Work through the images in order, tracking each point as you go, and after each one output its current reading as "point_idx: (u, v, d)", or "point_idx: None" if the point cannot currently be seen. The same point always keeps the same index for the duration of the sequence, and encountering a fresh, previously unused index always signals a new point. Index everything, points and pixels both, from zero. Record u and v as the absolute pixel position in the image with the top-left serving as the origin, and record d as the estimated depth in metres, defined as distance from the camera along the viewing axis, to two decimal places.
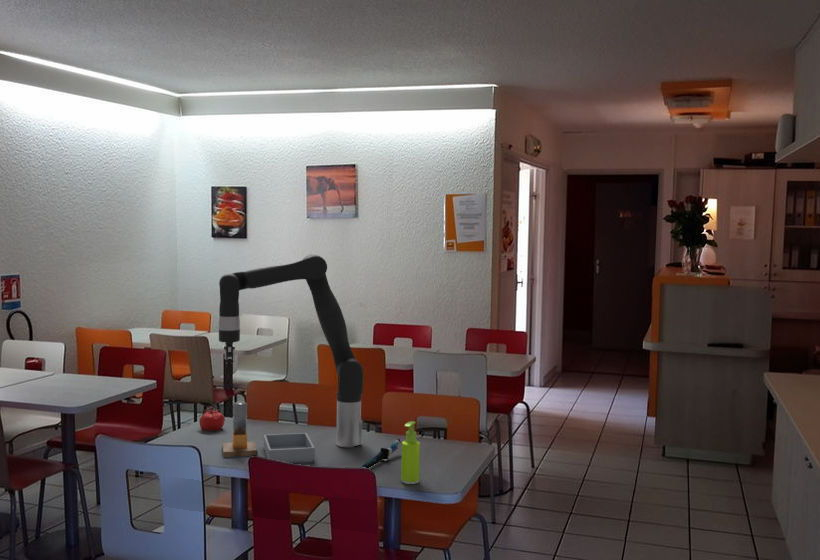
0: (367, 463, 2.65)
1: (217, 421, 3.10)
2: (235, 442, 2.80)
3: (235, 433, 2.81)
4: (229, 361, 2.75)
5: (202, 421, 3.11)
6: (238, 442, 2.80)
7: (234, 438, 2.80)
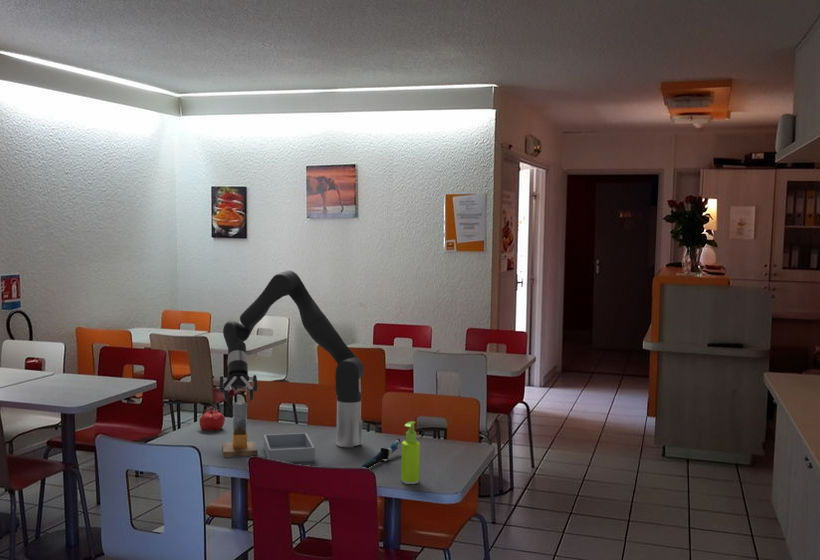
0: (367, 463, 2.65)
1: (217, 421, 3.10)
2: (235, 442, 2.80)
3: (235, 433, 2.81)
4: None
5: (202, 421, 3.11)
6: (238, 442, 2.80)
7: (234, 438, 2.80)
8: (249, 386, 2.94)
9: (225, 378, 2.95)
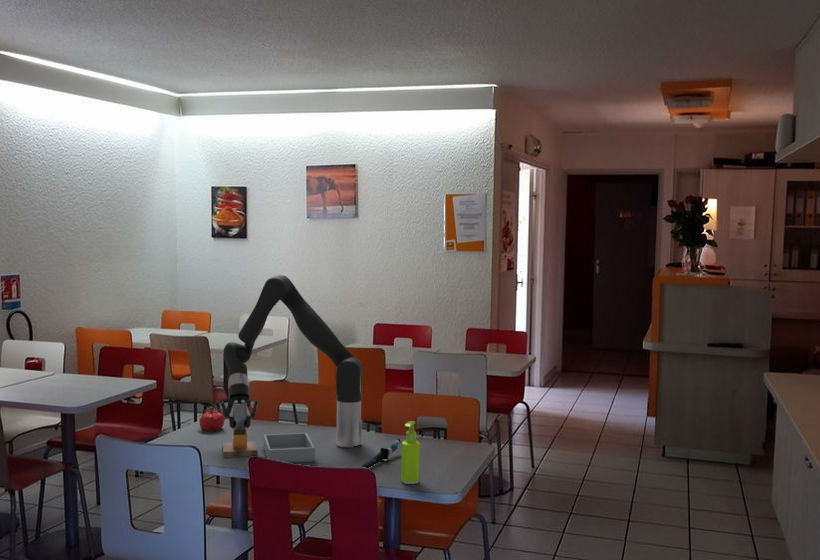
0: (367, 463, 2.65)
1: (217, 421, 3.10)
2: (235, 442, 2.80)
3: (235, 433, 2.81)
4: None
5: (202, 421, 3.11)
6: (238, 442, 2.80)
7: (234, 438, 2.80)
8: None
9: (226, 403, 2.86)
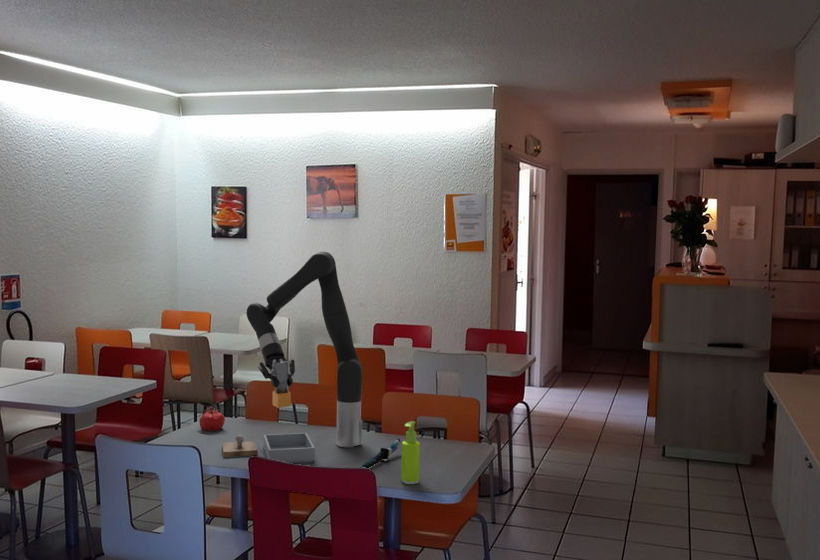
0: (367, 463, 2.65)
1: (217, 421, 3.10)
2: (279, 400, 2.77)
3: (279, 392, 2.78)
4: (265, 375, 2.78)
5: (202, 421, 3.11)
6: (282, 401, 2.78)
7: (279, 397, 2.77)
8: None
9: (264, 363, 2.81)
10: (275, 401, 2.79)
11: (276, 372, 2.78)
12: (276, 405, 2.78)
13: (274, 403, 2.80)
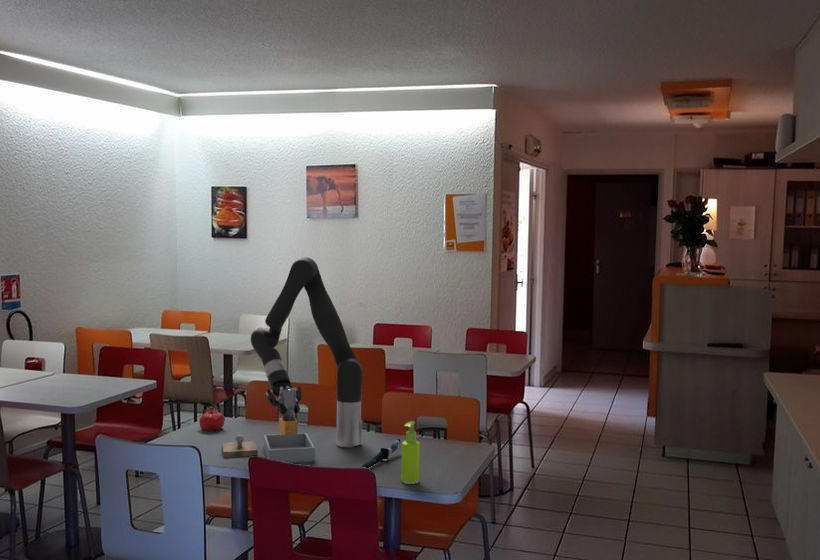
0: (367, 463, 2.65)
1: (217, 421, 3.10)
2: (286, 428, 2.77)
3: (286, 419, 2.78)
4: (273, 402, 2.78)
5: (202, 421, 3.11)
6: (289, 428, 2.78)
7: (286, 424, 2.77)
8: None
9: (271, 390, 2.81)
10: (282, 428, 2.79)
11: (284, 399, 2.78)
12: (283, 432, 2.78)
13: (281, 430, 2.80)
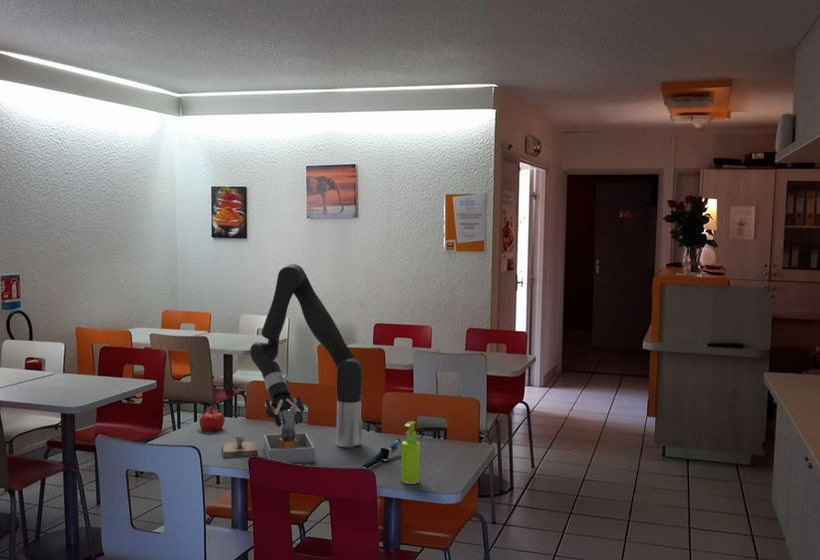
0: (367, 463, 2.65)
1: (217, 421, 3.10)
2: (286, 448, 2.78)
3: (286, 440, 2.78)
4: (268, 414, 2.78)
5: (202, 421, 3.11)
6: (289, 448, 2.79)
7: (286, 445, 2.78)
8: (296, 408, 2.84)
9: (270, 402, 2.81)
10: None
11: (283, 420, 2.79)
12: None
13: None
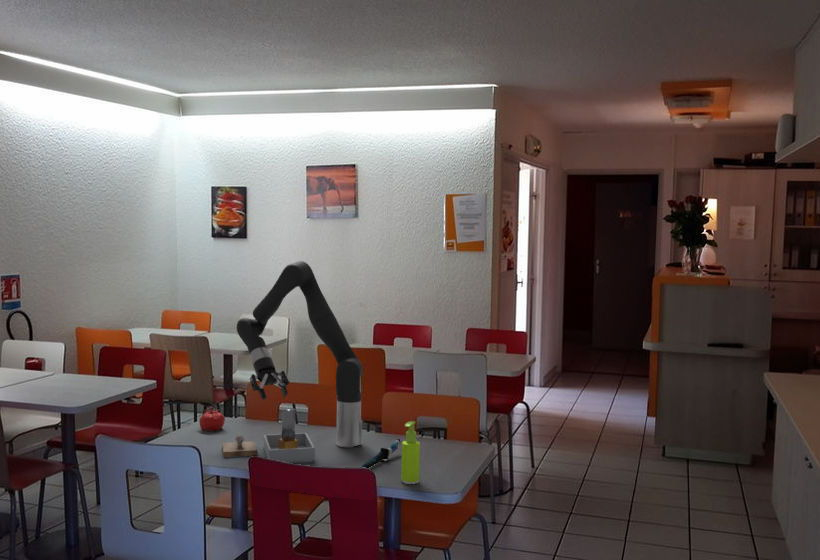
0: (367, 463, 2.65)
1: (217, 421, 3.10)
2: (286, 448, 2.78)
3: (286, 440, 2.78)
4: (253, 388, 2.88)
5: (202, 421, 3.11)
6: (289, 448, 2.79)
7: (286, 445, 2.78)
8: (281, 382, 2.94)
9: (256, 376, 2.92)
10: None
11: (283, 420, 2.79)
12: None
13: None
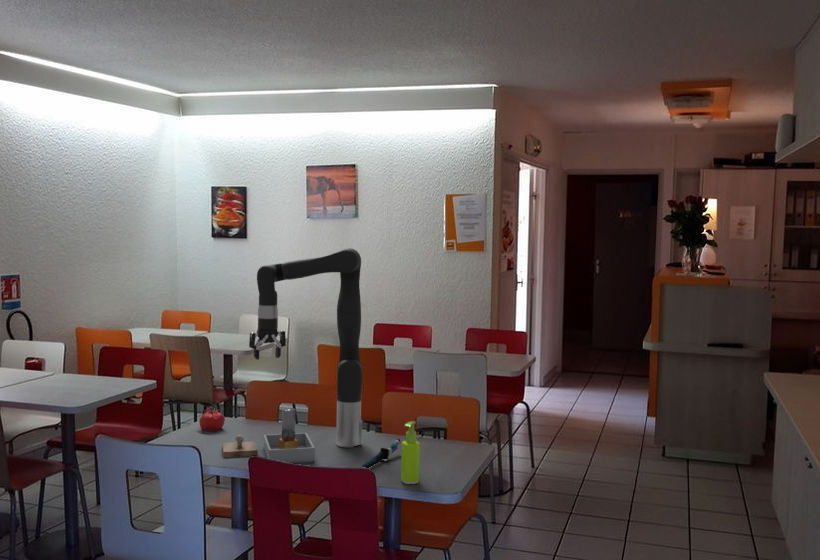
0: (367, 463, 2.65)
1: (218, 421, 3.10)
2: (286, 448, 2.78)
3: (286, 440, 2.78)
4: (250, 346, 2.93)
5: (202, 421, 3.11)
6: (289, 448, 2.79)
7: (286, 445, 2.78)
8: (278, 344, 2.99)
9: (256, 334, 2.94)
10: None
11: (283, 420, 2.79)
12: None
13: None
